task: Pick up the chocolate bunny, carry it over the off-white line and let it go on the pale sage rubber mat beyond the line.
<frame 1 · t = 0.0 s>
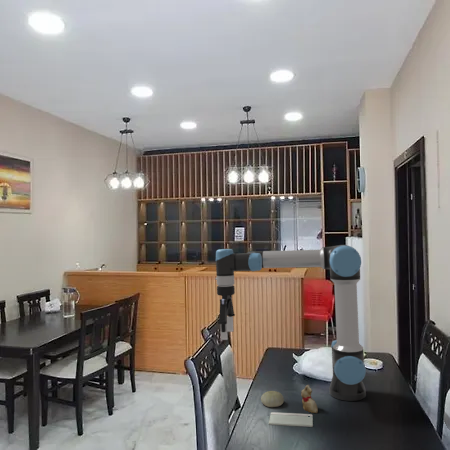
hand: (227, 335, 176), 28 cm above the table, tool pointing down, fingers open, 13 cm apart
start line: (291, 414, 161), on the table
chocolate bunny: (309, 409, 166), on the table
sea urchin shell: (272, 404, 172), on the table
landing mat: (290, 421, 156), on the table
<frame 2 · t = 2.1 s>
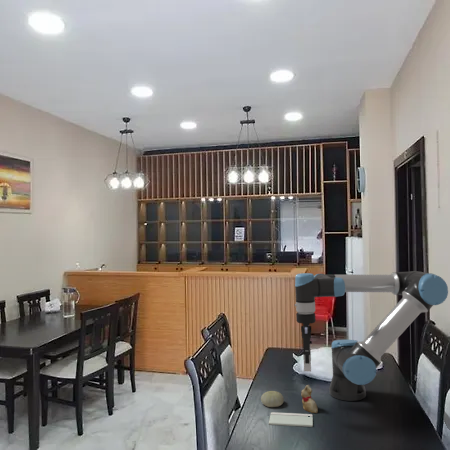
hand: (307, 365, 166), 17 cm above the table, tool pointing down, fingers open, 13 cm apart
nothing on the table moved.
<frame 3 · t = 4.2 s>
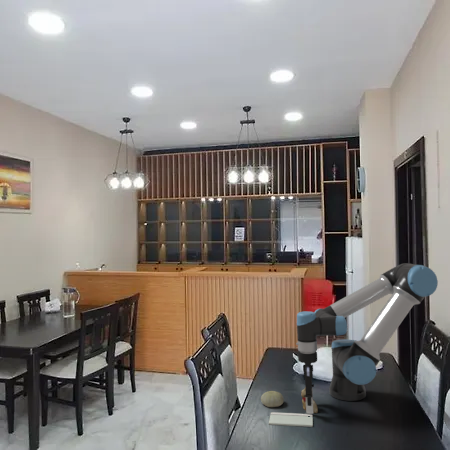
hand: (309, 408, 165), 0 cm above the table, tool pointing down, fingers open, 8 cm apart
nothing on the table moved.
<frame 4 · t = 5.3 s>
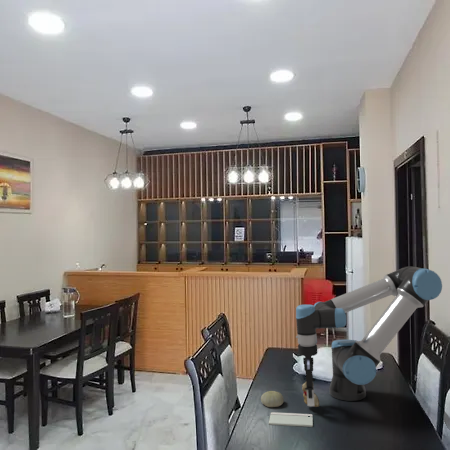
hand: (310, 401, 166), 3 cm above the table, tool pointing down, fingers closed on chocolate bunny, 7 cm apart
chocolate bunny: (311, 403, 166), point 2 cm above the table, touching gripper
everything else where it was.
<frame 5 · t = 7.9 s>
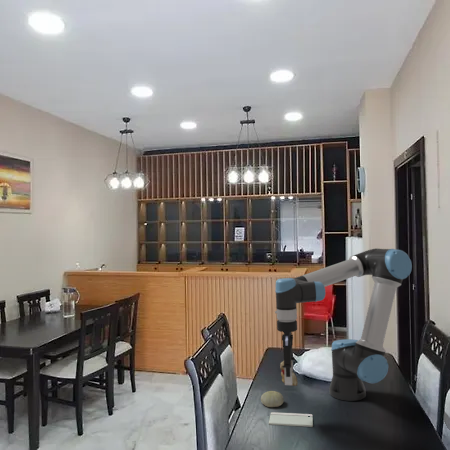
hand: (289, 381, 156), 15 cm above the table, tool pointing down, fingers closed on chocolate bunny, 7 cm apart
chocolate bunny: (289, 382, 156), point 14 cm above the table, touching gripper
everything else where it was.
when the fingers open (2 cm above the table, at t = 10.9 s): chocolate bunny stays where it is, resting on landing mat.
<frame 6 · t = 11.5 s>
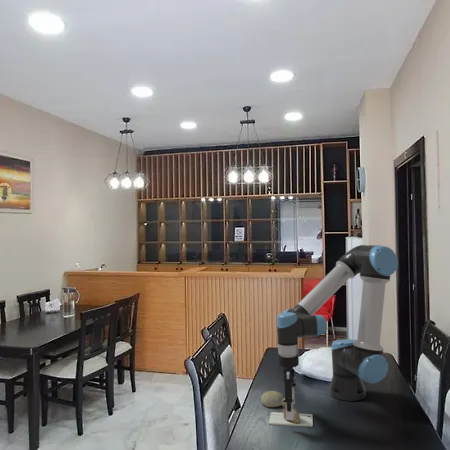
hand: (290, 411, 156), 4 cm above the table, tool pointing down, fingers open, 13 cm apart
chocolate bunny: (291, 420, 156), resting on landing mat
everything else where it was.
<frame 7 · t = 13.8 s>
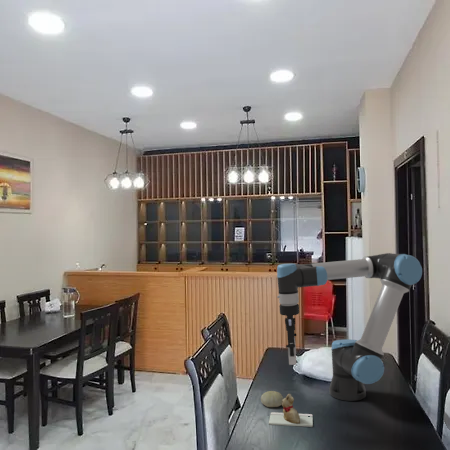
hand: (292, 358, 161), 22 cm above the table, tool pointing down, fingers open, 13 cm apart
nothing on the table moved.
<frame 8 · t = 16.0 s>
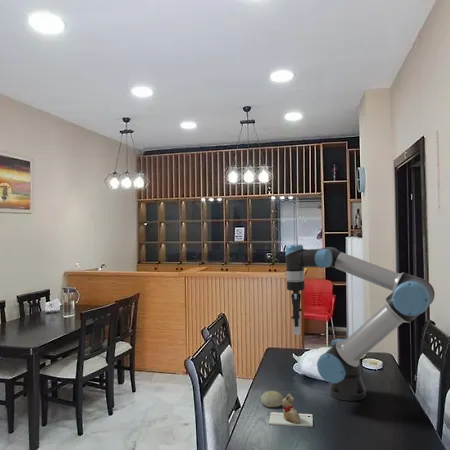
hand: (297, 330, 178), 29 cm above the table, tool pointing down, fingers open, 13 cm apart
nothing on the table moved.
at the end: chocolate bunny inside the target area (2.0 cm from its centre), resting on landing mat; the gripper is holding nothing; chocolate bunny tilted 0° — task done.
